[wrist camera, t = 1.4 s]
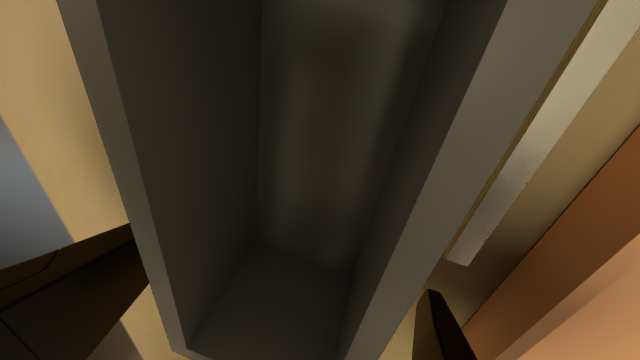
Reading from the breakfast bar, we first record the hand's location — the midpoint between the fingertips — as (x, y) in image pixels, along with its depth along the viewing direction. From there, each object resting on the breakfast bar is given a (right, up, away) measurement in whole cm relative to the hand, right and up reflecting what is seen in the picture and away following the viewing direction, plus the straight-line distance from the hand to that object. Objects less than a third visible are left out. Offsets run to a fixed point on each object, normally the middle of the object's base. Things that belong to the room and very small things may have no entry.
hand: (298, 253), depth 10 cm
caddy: (+1, +4, -1) cm, 4 cm away
